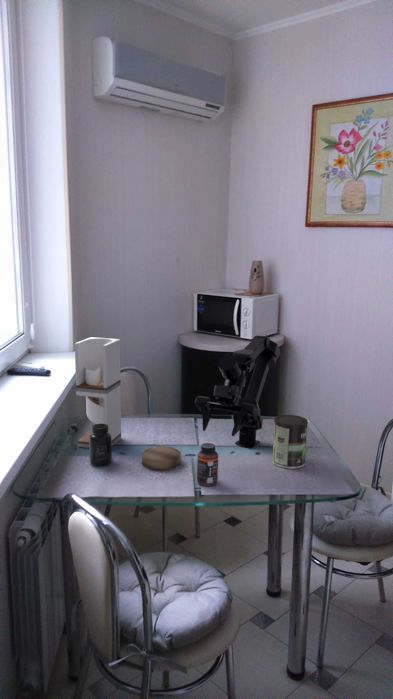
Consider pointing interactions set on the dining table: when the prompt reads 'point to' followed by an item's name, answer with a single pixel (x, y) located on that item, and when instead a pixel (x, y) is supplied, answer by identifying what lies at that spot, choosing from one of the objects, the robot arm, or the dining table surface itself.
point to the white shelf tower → (100, 383)
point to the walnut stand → (161, 458)
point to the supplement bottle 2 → (207, 465)
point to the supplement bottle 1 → (100, 445)
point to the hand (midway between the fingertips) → (217, 433)
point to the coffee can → (289, 441)
